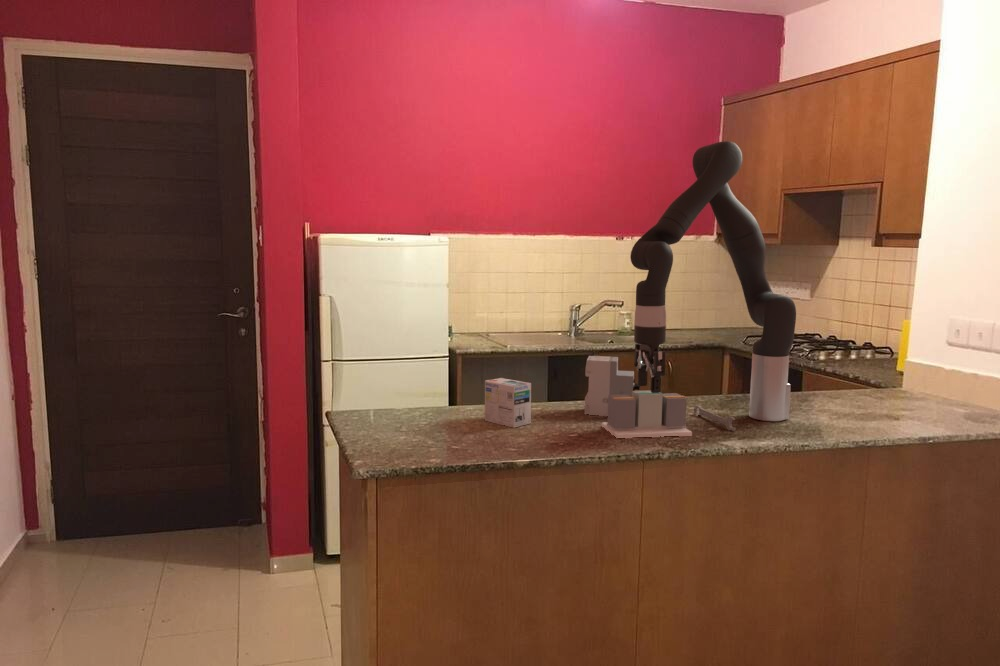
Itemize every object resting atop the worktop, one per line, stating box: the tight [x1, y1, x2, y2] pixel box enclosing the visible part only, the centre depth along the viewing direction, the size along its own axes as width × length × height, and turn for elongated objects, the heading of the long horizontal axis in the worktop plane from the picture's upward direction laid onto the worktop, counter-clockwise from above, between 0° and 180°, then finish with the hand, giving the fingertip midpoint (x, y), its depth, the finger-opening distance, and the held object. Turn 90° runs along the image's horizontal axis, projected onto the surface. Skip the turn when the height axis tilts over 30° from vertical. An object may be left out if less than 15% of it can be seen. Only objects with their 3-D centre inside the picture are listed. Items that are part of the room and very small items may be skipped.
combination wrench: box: [693, 405, 736, 432], centre depth 199 cm, size 4×1×20 cm
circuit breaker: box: [584, 355, 641, 417], centre depth 207 cm, size 8×14×15 cm, turn 78°
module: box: [632, 389, 664, 427], centre depth 189 cm, size 6×5×8 cm
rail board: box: [601, 392, 693, 439], centre depth 189 cm, size 19×12×9 cm, turn 100°
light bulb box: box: [484, 377, 532, 428], centre depth 196 cm, size 11×7×11 cm, turn 47°
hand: (648, 389), depth 188 cm, fingers open, 8 cm apart
